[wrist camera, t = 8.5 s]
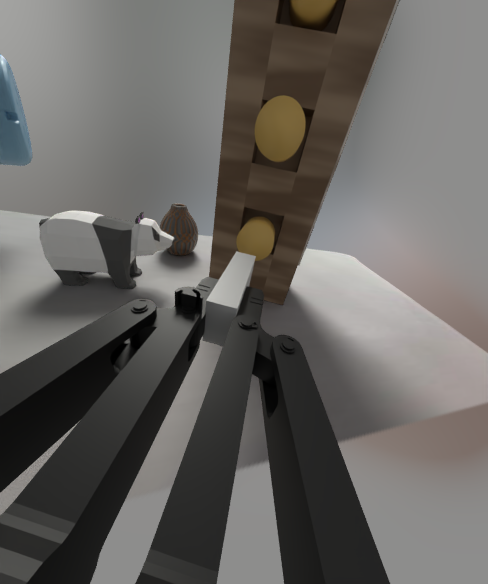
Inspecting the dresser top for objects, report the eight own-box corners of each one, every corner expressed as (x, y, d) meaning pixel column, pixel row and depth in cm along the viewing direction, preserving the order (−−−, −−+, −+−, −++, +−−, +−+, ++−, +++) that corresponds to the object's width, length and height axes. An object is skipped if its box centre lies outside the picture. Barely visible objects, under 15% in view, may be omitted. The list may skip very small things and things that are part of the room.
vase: (203, 256, 39) (206, 210, 34) (170, 261, 35) (168, 210, 30) (187, 243, 43) (187, 200, 38) (155, 246, 38) (151, 199, 34)
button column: (287, 306, 30) (469, -160, 11) (208, 285, 30) (251, -186, 12) (286, 281, 36) (399, -34, 18) (222, 265, 37) (264, -55, 18)
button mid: (295, 164, 16) (313, 101, 14) (250, 155, 17) (260, 90, 14) (294, 166, 20) (308, 114, 18) (256, 157, 20) (265, 105, 18)
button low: (268, 264, 22) (277, 229, 19) (233, 256, 22) (239, 220, 20) (270, 252, 25) (279, 220, 23) (240, 244, 25) (246, 213, 23)
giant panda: (48, 286, 24) (11, 204, 19) (72, 265, 28) (47, 194, 23) (173, 291, 28) (171, 224, 22) (177, 272, 32) (176, 212, 27)
